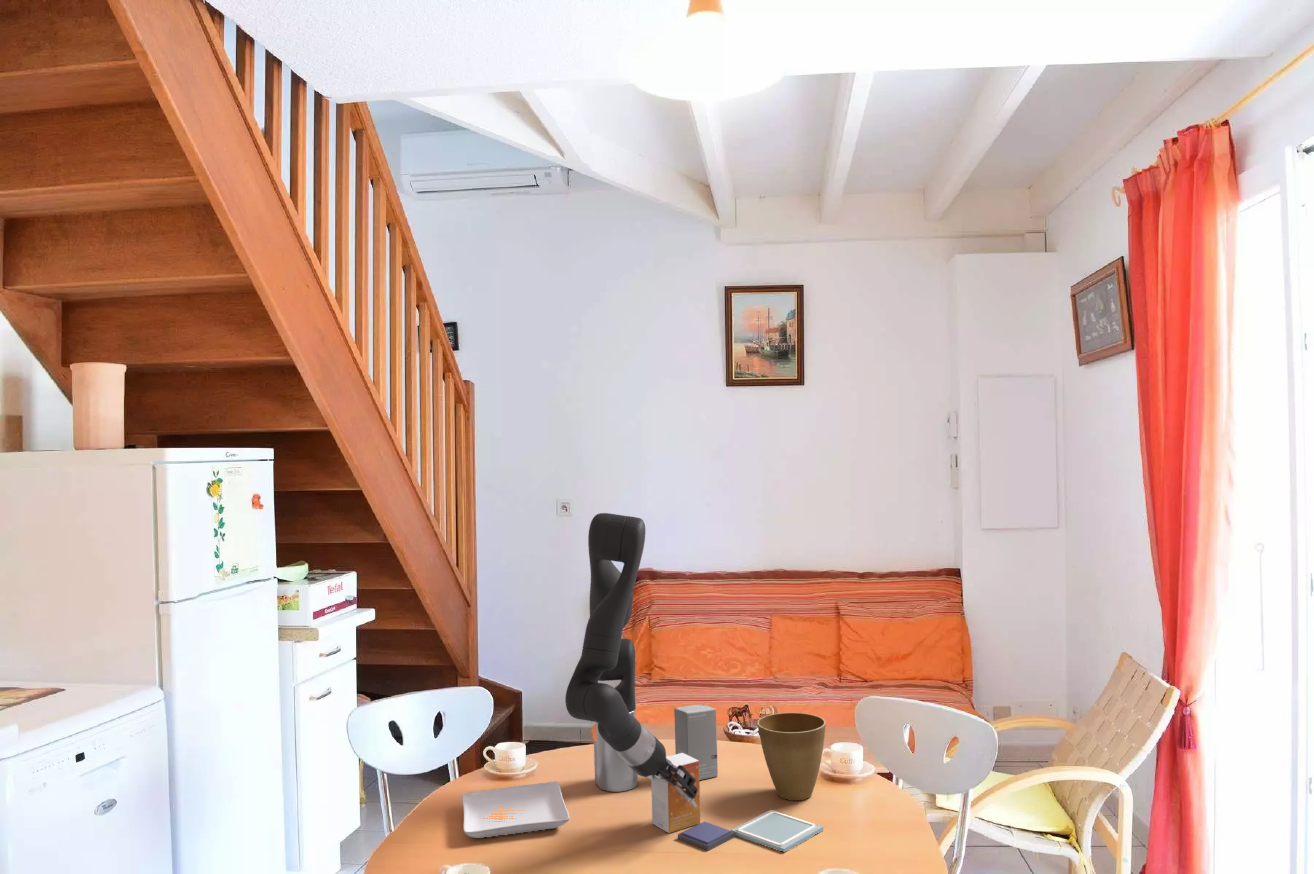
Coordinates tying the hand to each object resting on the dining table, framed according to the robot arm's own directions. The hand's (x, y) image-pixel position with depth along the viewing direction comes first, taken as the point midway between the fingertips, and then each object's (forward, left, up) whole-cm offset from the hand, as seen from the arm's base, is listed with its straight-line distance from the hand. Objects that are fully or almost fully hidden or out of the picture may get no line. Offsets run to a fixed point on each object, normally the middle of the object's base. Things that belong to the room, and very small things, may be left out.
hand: (680, 789), depth 185 cm
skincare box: (-15, +21, -7) cm, 27 cm away
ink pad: (+9, -3, -7) cm, 11 cm away
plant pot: (+9, +26, -7) cm, 29 cm away
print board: (+18, +8, -7) cm, 21 cm away
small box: (0, -2, -7) cm, 7 cm away
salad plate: (-28, -22, -7) cm, 36 cm away
